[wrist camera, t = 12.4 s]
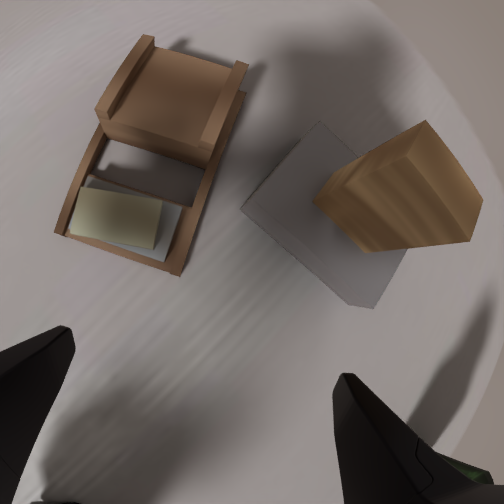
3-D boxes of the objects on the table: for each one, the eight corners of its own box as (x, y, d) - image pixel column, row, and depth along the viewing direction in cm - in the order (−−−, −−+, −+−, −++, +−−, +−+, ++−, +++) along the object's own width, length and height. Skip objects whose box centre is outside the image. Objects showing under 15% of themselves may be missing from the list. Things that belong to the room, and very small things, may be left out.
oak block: (365, 253, 18) (470, 241, 10) (312, 201, 17) (406, 156, 9) (383, 223, 18) (483, 199, 11) (334, 172, 18) (425, 119, 10)
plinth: (348, 304, 21) (373, 308, 18) (239, 209, 19) (251, 198, 16) (393, 230, 22) (419, 225, 19) (301, 138, 21) (319, 120, 18)
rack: (179, 276, 18) (181, 278, 14) (59, 234, 16) (33, 224, 12) (243, 100, 20) (258, 68, 16) (137, 67, 18) (134, 32, 14)
